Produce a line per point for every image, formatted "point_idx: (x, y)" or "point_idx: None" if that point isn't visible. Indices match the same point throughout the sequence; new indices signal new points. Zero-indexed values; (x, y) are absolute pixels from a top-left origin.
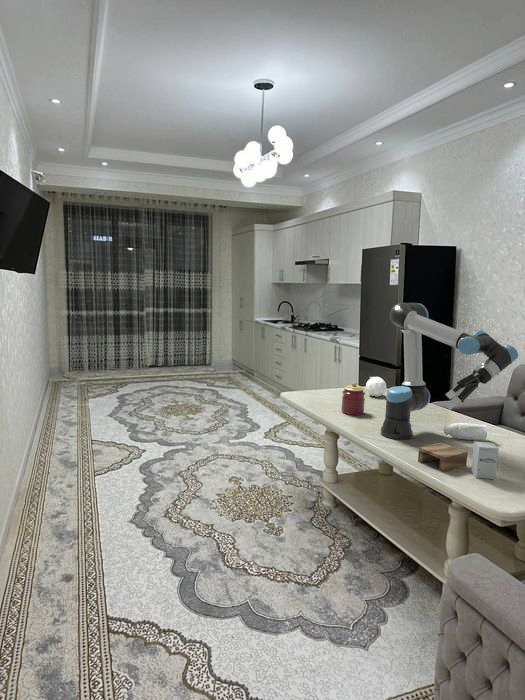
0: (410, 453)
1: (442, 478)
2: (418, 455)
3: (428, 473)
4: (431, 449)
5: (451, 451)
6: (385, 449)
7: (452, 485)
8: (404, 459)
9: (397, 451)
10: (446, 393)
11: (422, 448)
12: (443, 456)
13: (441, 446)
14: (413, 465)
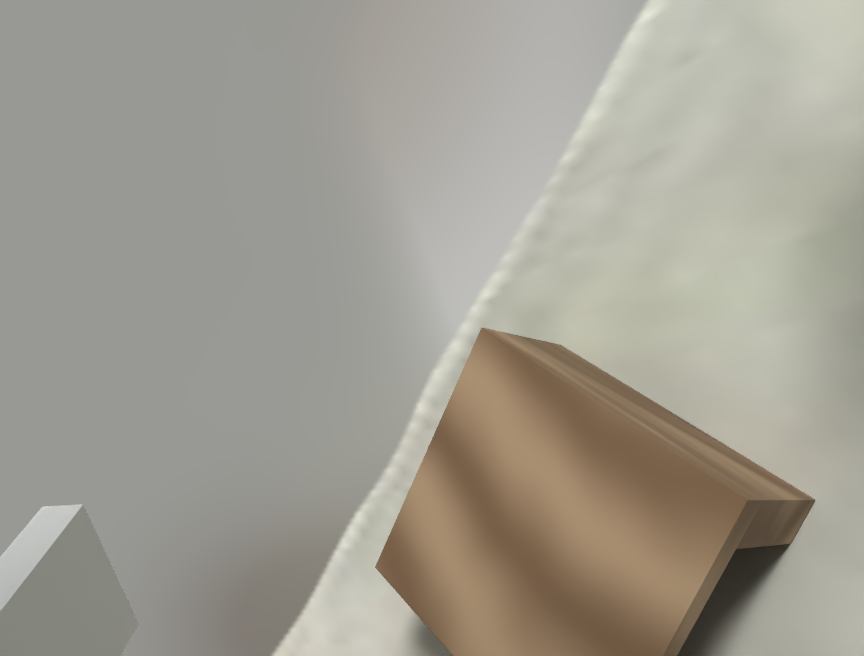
0: (707, 222)
1: (371, 563)
2: (530, 339)
3: (400, 469)
4: (482, 438)
5: (519, 623)
6: (680, 12)
7: (317, 625)
8: (543, 247)
9: (691, 111)
10: (26, 529)
11: (469, 362)
12: (385, 557)
13: (608, 513)
14: (471, 345)
